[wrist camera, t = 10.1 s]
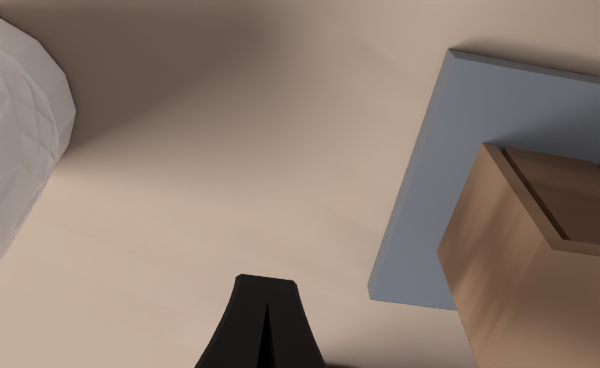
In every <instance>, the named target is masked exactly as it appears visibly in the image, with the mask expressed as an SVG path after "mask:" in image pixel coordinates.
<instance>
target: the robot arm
mask: <svg viewBox="0 0 600 368" xmlns="http://www.w3.org/2000/svg"><path fill="white" fill-rule="evenodd" d="M194 368H327V367H326V364H325V362H324V360H323V358H322V355H321V353H320V351H319V348H318V346H317V344H316V341H315V339H314V337H313V334H312V331H311V329H310V326H309V323H308V321H307V318H306V315H305V312H304V309H303V306H302V303H301V299H300V296H299V292H298V288H297V285H296V283H295V282H294V281H293V280H285V279H277V278H270V277H262V276H254V275H246V274H240V275H238V276H237V277H236V279H235V284H234V288H233V291H232V294H231V297H230V300H229V303H228V305H227V307H226V310H225V312H224V314H223V317H222V319H221V321H220V323H219V325H218V327H217V328H216V330H215V332H214V334H213V336H212V338H211V340H210V342H209V344H208V346H207V347H206V349H205V351H204V352H203V354H202V356H201V357H200V359H199V361H198V362H197V364H196V366H195V367H194Z"/></svg>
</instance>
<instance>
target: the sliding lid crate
mask: <svg viewBox="0 0 600 368" xmlns="http://www.w3.org/2000/svg"><path fill="white" fill-rule="evenodd" d="M436 253H437V256H438V258H439V261H440V264H441V266H442V269H443V272H444V275H445V277H446V280H447V283H448V286H449V288H450V291H451V294H452V297H453V299H454V302H455V305H456V308H457V310H458V313H459V316H460V318H461V321H462V324H463V327H464V329H465V332H466V335H467V338H468V340H469V343H470V346H471V349H472V351H473V354H474V357H475V360H476V362H477V365H478V368H600V163H598V165H597V166H596V165H595V164H594V163H593V162H592V161H586V160H580V159H574V158H568V157H562V156H557V155H551V154H545V153H539V152H533V151H527V150H521V149H515V148H509V147H503V149H502V151H500V150H499V148H498V147H497V146H496V145H491V144H485V143H482V144H481V146H480V149H479V151H478V154H477V156H476V158H475V161H474V163H473V166H472V168H471V170H470V173H469V175H468V178H467V180H466V182H465V185H464V187H463V190H462V192H461V194H460V197H459V199H458V202H457V204H456V206H455V209H454V211H453V214H452V216H451V218H450V221H449V223H448V226H447V228H446V230H445V233H444V235H443V237H442V240H441V242H440V245H439V247H438V249H437V252H436Z"/></svg>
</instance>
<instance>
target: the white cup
mask: <svg viewBox="0 0 600 368" xmlns="http://www.w3.org/2000/svg"><path fill="white" fill-rule="evenodd" d="M75 116H76V109H75V105H74V102H73V98H72V95H71V92H70V88H69V85H68V81H67V78H66V75H65V73H64V72H63V71H62V70H61V69H60V67H59V66H58V65H57V64H56V62H55V61H54V60H53V59H52V57H51V56H50V55H49V54H48V53H47V51H46V50H45V49H44V48H43V46H42V45H41V44H40V43H39V42H38V41H37V40H36V39H34V38H33V37H31V36H29V35H28V34H26V33H24V32H23V31H21V30H19V29H18V28H16V27H14V26H13V25H11V24H9V23H8V22H6V21H4V20H3V19H1V18H0V262H1V260H2V258H3V257H4V255H5V254H6V252H7V250H8V249H9V247H10V246H11V244H12V242H13V241H14V239H15V238H16V236H17V234H18V233H19V231H20V229H21V228H22V226H23V225H24V223H25V221H26V219H27V218H28V216H29V214H30V212H31V210H32V208H33V206H34V204H35V203H36V201H37V200H38V198H39V197H40V195H41V193H42V192H43V190H44V188H45V186H46V184H47V182H48V180H49V178H50V175H51V173H52V170H53V168H54V167H55V165H56V164H57V162H58V161H59V159H60V158H61V156H62V154H63V153H64V151H65V150H66V148H67V147H68V145H69V142H70V138H71V133H72V129H73V125H74V120H75Z"/></svg>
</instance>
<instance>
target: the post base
mask: <svg viewBox="0 0 600 368" xmlns="http://www.w3.org/2000/svg"><path fill="white" fill-rule="evenodd" d="M482 143H485V144H491V145H496V146H497V147H498V148H499V150H500V151H502V149H503V147H509V148H515V149H521V150H527V151H533V152H539V153H545V154H551V155H557V156H562V157H568V158H574V159H580V160H586V161H592V162H593V163H594V164H595V165H596V166H597V165H598V163H600V77H596V76H590V75H585V74H580V73H574V72H569V71H563V70H558V69H553V68H547V67H542V66H536V65H531V64H526V63H520V62H515V61H509V60H504V59H499V58H493V57H488V56H482V55H477V54H471V53H466V52H461V51H455V50H450V49H448V50H447V53H446V56H445V59H444V62H443V65H442V67H441V70H440V73H439V76H438V79H437V82H436V85H435V88H434V91H433V94H432V97H431V100H430V103H429V106H428V109H427V112H426V115H425V117H424V120H423V123H422V126H421V129H420V132H419V135H418V138H417V141H416V144H415V147H414V150H413V153H412V156H411V159H410V162H409V165H408V167H407V170H406V173H405V176H404V179H403V182H402V185H401V188H400V191H399V194H398V197H397V200H396V203H395V206H394V209H393V212H392V215H391V217H390V220H389V223H388V226H387V229H386V232H385V235H384V238H383V241H382V244H381V247H380V250H379V253H378V256H377V259H376V262H375V265H374V267H373V270H372V273H371V276H370V279H369V282H368V291H369V296H370V300H376V301H384V302H392V303H400V304H408V305H416V306H423V307H431V308H439V309H447V310H455V311H458V310H457V308H456V305H455V302H454V299H453V297H452V294H451V291H450V288H449V286H448V283H447V280H446V277H445V275H444V272H443V269H442V266H441V264H440V261H439V258H438V256H437V253H436V252H437V249H438V247H439V245H440V242H441V240H442V237H443V235H444V233H445V230H446V228H447V226H448V223H449V221H450V218H451V216H452V214H453V211H454V209H455V206H456V204H457V202H458V199H459V197H460V194H461V192H462V190H463V187H464V185H465V182H466V180H467V178H468V175H469V173H470V170H471V168H472V166H473V163H474V161H475V158H476V156H477V154H478V151H479V149H480V146H481V144H482Z"/></svg>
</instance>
